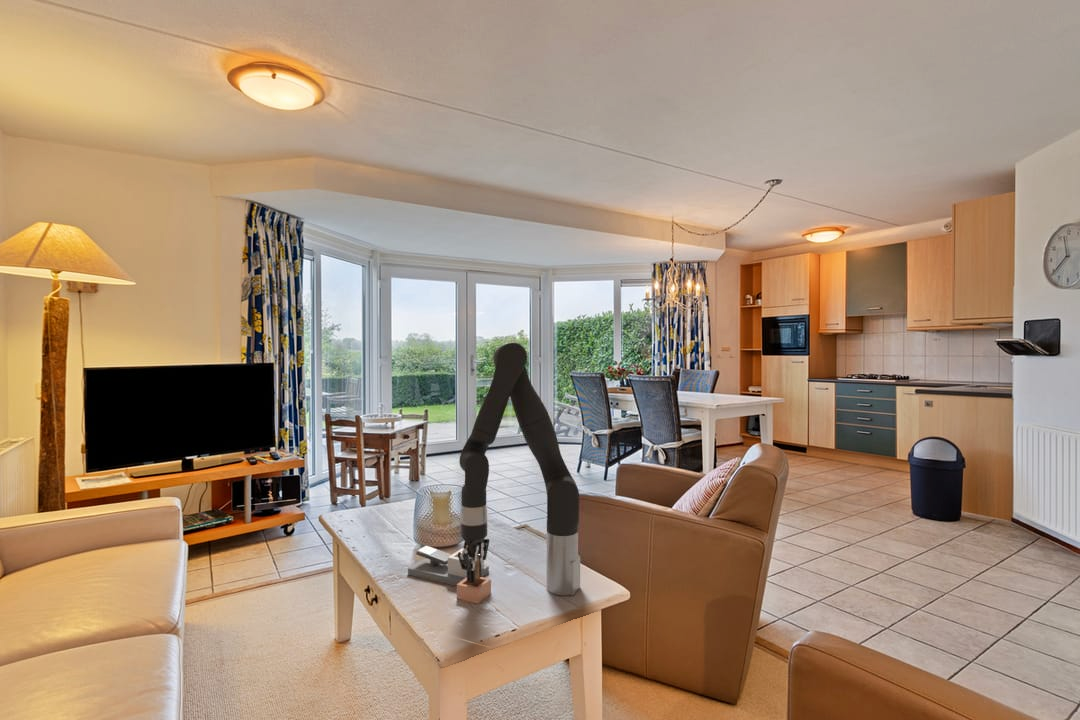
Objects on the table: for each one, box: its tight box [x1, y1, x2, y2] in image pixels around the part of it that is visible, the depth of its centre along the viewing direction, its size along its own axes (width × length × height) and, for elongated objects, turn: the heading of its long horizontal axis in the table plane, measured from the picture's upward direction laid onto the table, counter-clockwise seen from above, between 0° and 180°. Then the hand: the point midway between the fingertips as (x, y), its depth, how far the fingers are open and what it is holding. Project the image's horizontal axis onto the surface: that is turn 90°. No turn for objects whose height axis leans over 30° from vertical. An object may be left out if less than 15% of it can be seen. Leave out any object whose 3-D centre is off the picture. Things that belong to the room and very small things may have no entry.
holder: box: [456, 576, 492, 604], centre depth 150 cm, size 7×7×4 cm
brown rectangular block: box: [469, 556, 480, 587], centre depth 149 cm, size 3×3×11 cm
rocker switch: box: [416, 545, 452, 565], centre depth 166 cm, size 11×5×1 cm, turn 65°
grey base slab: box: [407, 547, 490, 587], centre depth 164 cm, size 22×12×7 cm, turn 65°
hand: (474, 579), depth 149 cm, fingers closed on brown rectangular block, 3 cm apart
